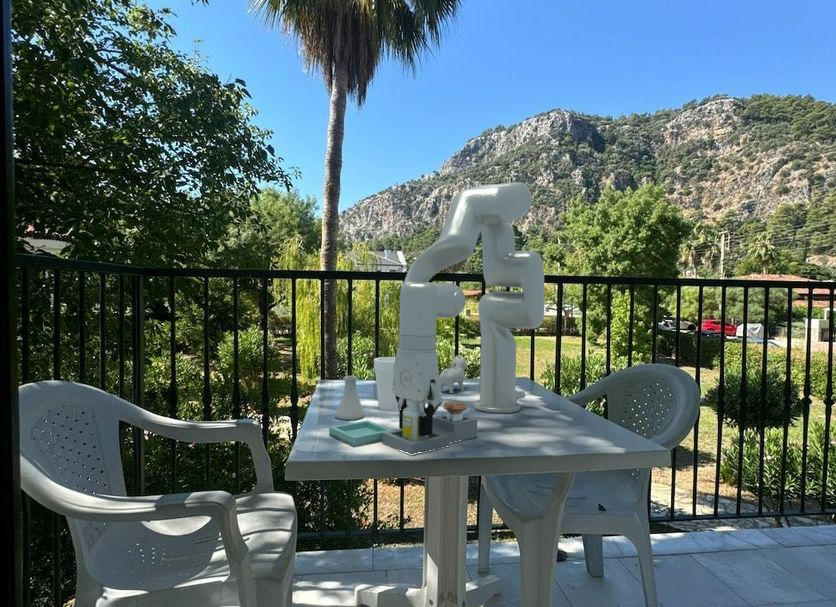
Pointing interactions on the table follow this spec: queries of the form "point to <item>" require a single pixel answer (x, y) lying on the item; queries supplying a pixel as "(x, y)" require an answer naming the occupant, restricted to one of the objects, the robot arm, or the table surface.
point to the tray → (358, 432)
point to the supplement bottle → (411, 422)
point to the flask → (350, 401)
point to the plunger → (455, 410)
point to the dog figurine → (453, 374)
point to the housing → (434, 435)
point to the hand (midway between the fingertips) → (415, 430)
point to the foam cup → (385, 383)
